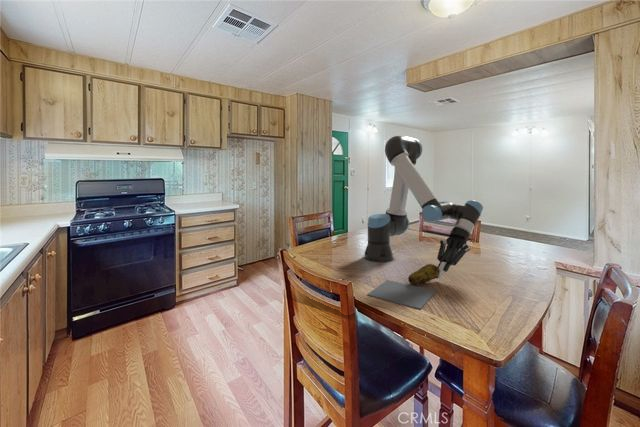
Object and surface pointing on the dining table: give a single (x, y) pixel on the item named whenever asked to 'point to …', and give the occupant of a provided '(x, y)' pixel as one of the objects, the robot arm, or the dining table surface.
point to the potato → (424, 274)
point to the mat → (402, 294)
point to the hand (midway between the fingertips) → (438, 276)
